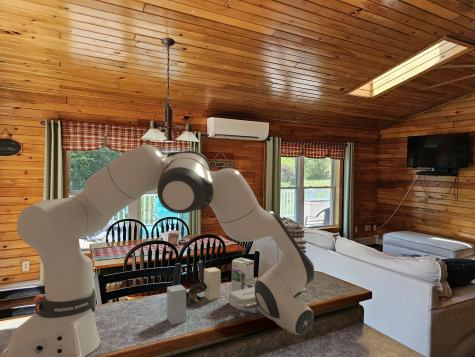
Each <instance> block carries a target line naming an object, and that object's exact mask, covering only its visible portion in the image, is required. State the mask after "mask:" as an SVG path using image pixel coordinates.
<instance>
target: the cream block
mask: <svg viewBox="0 0 475 357" xmlns="http://www.w3.org/2000/svg"><path fill="white" fill-rule="evenodd" d="M221 274H222V271H221V270H220V269H219V268H217V267H215V266H214V267H208V268H204V269H203V283H205V284H206V286H207V289H206V291H204V292H203V296H204V297H205V298H206V299H207V300H208V301H213V300H217V299H220V298H221V297H222V296H221V294H222V292H221V288H222V286H221V284H222V282H221V280H222V279H221Z"/></svg>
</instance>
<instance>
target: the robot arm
mask: <svg viewBox="0 0 475 357" xmlns="http://www.w3.org/2000/svg"><path fill="white" fill-rule="evenodd" d="M154 190H156V191H157V192H156V193H157V197H158V198H157V199H158V201H159V203H160V204H161V206H162V207H163V208H164V209H166V210H167V211H169V212H170V213H174V214H187V213H191V212H194V211H200V210H201V211H202V210H205V209H207V208H208V207H210V208H211V209H212V211H213V213H214V214H215V217H216V219H217V221H218V223H219V224H220V227H221V228H222V230H223V231H224V233H225V234H226V236H228V237H229V238H230V239H232V240H233V241H235V242H236V241H237V242H242V243H244V242H245V243H246V242H254V241H258V240H260V239H264V238H269V237H271V238H272V240H273V241H274V243H275V244H276V245H277V247H278V249H279V250H280V252H282V257H281V258H280V260H279V261H278V262H277V263H275V264H274V265H272V266H271V268H269V269H268V270H267V271H265V272H264V273H263V274H262V275H261V276H260V277H259V278H258V279H257V280H255V283H254V284H253V285H252V284H250V285H245V286H243V289H242V290H237V291H232V290H231V291H230V292H229V294H228V304H229V305H231V307H234V308H236V309H238V310H242V311H247V310H250V309H251V310H252V309H254V308H256V309H257V311H258V312H259V313H260V314H261V315H263V316H264V317H266V318H267V319H269V320H270V321H273V322H274V323H276V325H278V326H279V327H280V328H282V329H283V330H285V331H287V332H289V333H291V334H293V335H296V336H302V335H303V334H305V333H307V331H309V329H310V328H311V327H312V326H313V323H314V319H315V316H314V315H315V314H314V311H313V310H312V309H311V308H310V307H309V306H308V305H307V304H305V303H304V302H302V301H301V300H300V299H298V298H296V297H295V295H297V293H300V292H299V291H300V290H301V289H302V288H303V287H306V286H307V285H308V284H310V283H311V282H312V281H313V280H314V278H315V267H314V263H313V262H312V261H311V259H310V258H309V257H308V255H306V253H304V252H303V251H302V250H301V249H300V247H299V246H298V244H297V243H296V241H295V240H294V238H293V237H292V235H291V234H290V232H289V231H288V229H287V228H286V226H287V225H285V224H284V222H283V221H282V219H281V218H280V217H279V216H278V215H277V214H276V213H275V212H274V211H272V210H270V209H264V208H263V207H262V206H261V205H260V204H259V203H260V202H258V200H257V197H256V195H255V194H254V191H253V189H252V188H251V186H250V185H249V183H248V182H247V180H246V179H245V177H244V176H243V175H242V173H241V172H240V171H239V170H237V169H235V168H231V167H230V168H221V169H219V170H215V171H213V170H212V169H211V165H210V162H209V160H208V158H207V157H206V156H205V155H204V154H203V153H201V152H199V151H195V150H184V151H173V152H169V153H168V154H167V155H166V156H165V155H164V154H163V153H162V152H161V151H160V150H159V149H158V148H157V147H155V146H153V145H151V144H142V145H139V146H137V147H134V148H132V149H130V150H128V151H125V152H124V153H122V154H120V155H118V157H115V158H114V159H113V160H111V161H110V162H109V163H108V164H106V165H105V166H103V167H101V169H99V170H97V171H96V172H95V173H93V174H92V175H90V176H89V177H88V178H87V180H86V181H85V183H84V189H83V190H82V191H81V192H79V193H78V194H75V195H72V196H70V197H64V198H53V199H46V200H42V201H39V202H35V203H34V204H30V205H28V206H27V207H25V208H23V209H22V210H21V212H20V213H19V215H18V217H17V220H16V230H17V234H18V236H19V237H20V240H21V241H23V243H25V245H28V246H29V247H31V248H32V249H33V250H35V252H36V253H37V254H38V256H39V259H40V261H41V263H42V268H43V275H44V276H43V277H44V293H45V294H44V295H42V294H37V295H36V296H35V297H34V300H33V303H34V304H35V313H34V314H33V315H31V317H29V318H28V319H26V321H24V322H23V323H22V324H21V325H19V326H18V327H17V328H16V329H15V330H14V332H13V333H12V336H11V338H10V340H9V344H8V346H7V347H6V348H4V350H3V351H2V352H1V353H0V357H86V356H87V355H89V354H91V353H92V352H94V351H95V350H97V348H98V347H99V346H100V344H101V338H100V335H99V331H98V329H97V328H98V327H97V322H96V317H95V315H96V314H95V311H96V305H97V304H96V301H97V300H96V298H97V296H96V291H95V288H94V264H93V260H92V259H91V257H89V256H88V255H86V254H84V253H83V251H82V248H81V244H80V239H82V238H84V237H88V236H92V235H95V234H96V233H97V232H98V233H99V231H101V230H103V229H104V228H105V227H107V226H108V224H109V223H110V220H111V219H112V218H113V217H114V216H116V214H118V213H119V212H120V211H122V210H124V209H126V207H128V206H129V205H131V204H133V203H134V202H136V201H137V200H138V199H140V198H141V197H143V196H144V195H146V194H147V193H148V192H150V191H154Z"/></svg>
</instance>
